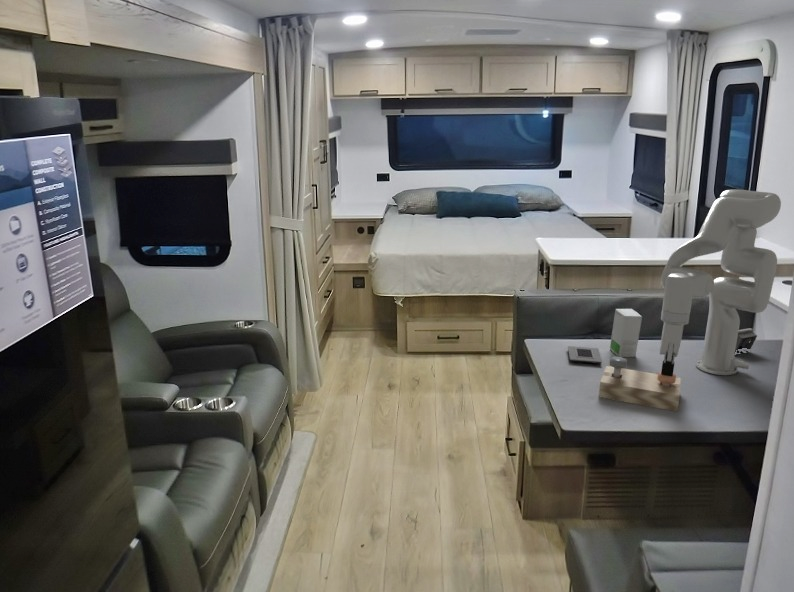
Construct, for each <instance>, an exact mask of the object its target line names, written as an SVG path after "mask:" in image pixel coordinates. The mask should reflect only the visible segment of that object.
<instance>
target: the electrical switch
mask: <svg viewBox="0 0 794 592" xmlns="http://www.w3.org/2000/svg"><path fill="white" fill-rule="evenodd" d="M753 331H754V330H753V328H750V327H749V328H743V329H739V331H738V337H737V342H736V348H735V352H736V350H738V349H742V348H747V349H750V350H751V349H752V347H753V346H754V343H755V341H756V340H757V337H758V334H756V333H754V332H753Z"/></svg>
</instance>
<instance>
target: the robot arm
mask: <svg viewBox="0 0 794 592" xmlns="http://www.w3.org/2000/svg"><path fill="white" fill-rule="evenodd" d="M781 205H782V201H781V198H780V196H779V195H778V194H776V193H773V192H767V191H766V192H764V191H758V190H757V191H756V190H747V189H726V190H724V191H722V192H721V194H720V195H719V197H718V198H717V199H716V200H715V201H714V202H713V203H712V205H711V206H710V209H709V211H708V213H707V215H706V217H705V219H704V221H703V223H702V225H701V227H700V230H699V232H698V234H697V236H695V237H694V238H692V239H690V240H689V241H687V242H685V243H683V244H682V245H680V246H679V247H678V248H677V249H675V250H674V251H673V252H672V253H671V255H670V256H669V258H668V260H667V261H666V263H665V266H664V268H663V271H662V273H661V277H660V284H661V287H662V288H663V289H664V294H663V299H662V300H663V301H662V309H661V313H660V314H661V316H660V320H661V321H662V322H663V326H662V332H661V337H660V338H661V339H660V347H659V355H660V356H664V357H663V360H662V364H661V371H660V372H661V375H665V376H671V377H672V376H673V374H674V369H675V358H677V357H678V355H679V353H680V349H681V348H680V347H681V343H682V337H683V331H684V326H686V325H688V324H690V318H691V316H690V315H691V309H692V303H693V299H694V298H696V299H697V298H704V297H706V296H708V297H709V302H708V303H709V304H708V305H709V308H708V316H707V323H706V328H705V337H704V340H703V347H702V353H701V354H702V356H701V358H700V359H697V360H696V362H695V366H696V368H698V369H699V370H701V371H702V372H704V373H708V374H712V375H717V376H732V375H735V374H737V371H738V369H743V370H744V369H745V370H749V367H750V364H749V363H746V362H745V361H744V360H738V359H736V358H735V357H736V355H734V354H735V348H736V342H737V337H738V331H739V330H740V324H741V320H740V319H741V318H740V316H739V313H738V311H737V310H740V311H744V312H749V313H755V314H757V313H758V314H759V313H762V312H764V311H765V310H766V309H767V307H768V305H769V302H770V298H771V294H772V289H773V285H774V282H775V276H776V272H777V266H778V258H777V257H778V256H777V254H776V253H775V252H774V251H773V250H772V249H768V248H763V247H756V244H755V243H756V238H757V233H758V231H757V229H758V228H761V227H762V226H765V225H766V224H768V223H770V222H772V221H773V220H774V219H775V218H776V217H777V216H778V214H779V213H780V211H781ZM720 252H722V254H721V259H720V267H721V269H722V270H723V271H724V272H725V273H729V274H733V275H739V276H744V277H749V278H752V279H754V281H750V280H746V279H741V278H735V277H730V276H719V277H716V278H713V276H712V275H711V274H710V273H708V272H705V271H702V270H701V271H700V270H696V269H692V268H687V267H686V268H685V267H683V266H684V264H686V263H687V262H688V261H690V260H692V259H695V258H698V257H703V256H707V255H711V254H712V255H713V254H715V253H720Z"/></svg>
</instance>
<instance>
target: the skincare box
mask: <svg viewBox="0 0 794 592" xmlns="http://www.w3.org/2000/svg"><path fill="white" fill-rule="evenodd" d="M642 319H643V315H640V314H639V313H638V312H637V311H636V310H634V309H633V308H615V312H614V317H613V324H612V332H611V337H610V343H609V344H610V346H609V350H611V351H612V353H613V354H615V356H616V357H622V358H636V356H637V352H638V345H639V344H638V343H639V337H640V331H641V327H642V326H641V325H642Z"/></svg>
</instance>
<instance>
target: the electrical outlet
mask: <svg viewBox="0 0 794 592" xmlns="http://www.w3.org/2000/svg"><path fill="white" fill-rule="evenodd" d="M567 350H568V355H569V361H570V362H576V363H588V364H599V365H600V364H602V363H603V361H602V357H601V353H600V350H599V348H597V347H587V346H585V347H584V346H572V345H571V346H570V345H567Z"/></svg>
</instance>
